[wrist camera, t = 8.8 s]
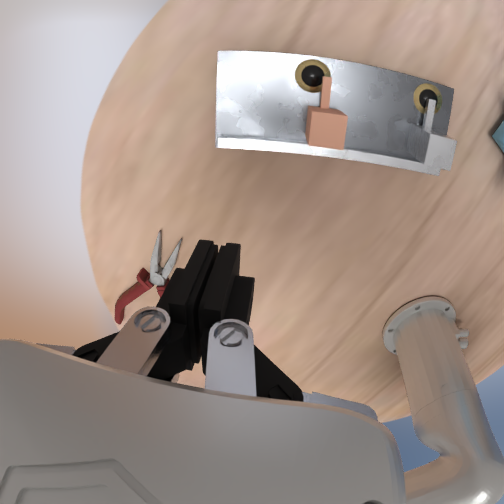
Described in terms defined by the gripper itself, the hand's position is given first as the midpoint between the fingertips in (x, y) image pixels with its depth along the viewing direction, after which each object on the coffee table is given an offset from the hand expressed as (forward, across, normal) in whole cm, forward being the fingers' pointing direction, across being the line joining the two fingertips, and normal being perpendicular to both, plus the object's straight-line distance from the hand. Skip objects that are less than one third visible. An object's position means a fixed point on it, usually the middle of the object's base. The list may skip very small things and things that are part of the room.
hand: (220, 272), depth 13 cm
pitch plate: (+22, -7, -5) cm, 24 cm away
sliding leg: (+20, -5, -5) cm, 21 cm away
